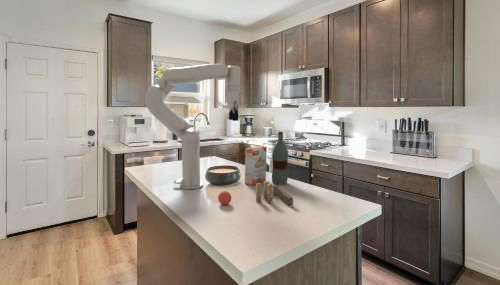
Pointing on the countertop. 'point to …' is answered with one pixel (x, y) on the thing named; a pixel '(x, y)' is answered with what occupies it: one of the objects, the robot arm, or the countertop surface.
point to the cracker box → (255, 165)
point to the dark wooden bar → (283, 195)
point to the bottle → (280, 162)
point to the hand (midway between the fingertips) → (233, 120)
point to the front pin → (258, 192)
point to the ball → (224, 197)
